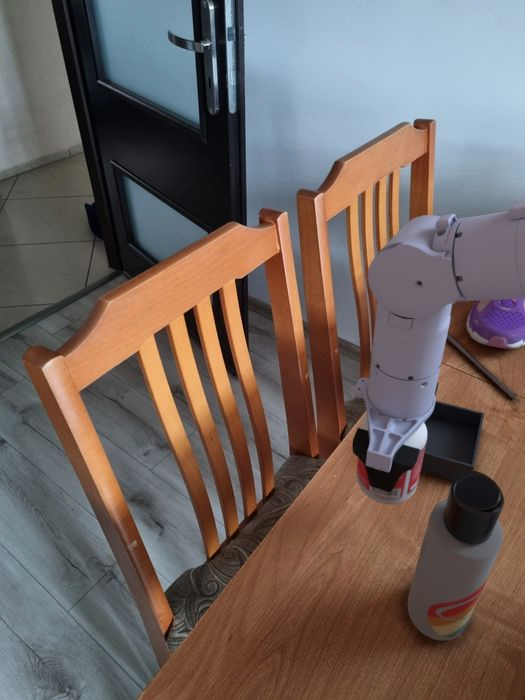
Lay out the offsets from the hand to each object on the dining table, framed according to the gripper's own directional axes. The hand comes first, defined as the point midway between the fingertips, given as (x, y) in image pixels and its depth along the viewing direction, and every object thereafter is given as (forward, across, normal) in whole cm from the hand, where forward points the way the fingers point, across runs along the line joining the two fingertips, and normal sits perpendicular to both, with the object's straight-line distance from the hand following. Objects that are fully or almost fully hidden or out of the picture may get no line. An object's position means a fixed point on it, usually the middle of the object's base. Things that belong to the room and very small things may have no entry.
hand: (389, 460), depth 55 cm
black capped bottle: (+10, +8, +8) cm, 15 cm away
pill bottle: (+4, 0, 0) cm, 4 cm away
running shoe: (+11, -44, +8) cm, 46 cm away
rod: (+10, -30, +5) cm, 32 cm away
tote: (+10, -12, +4) cm, 17 cm away
